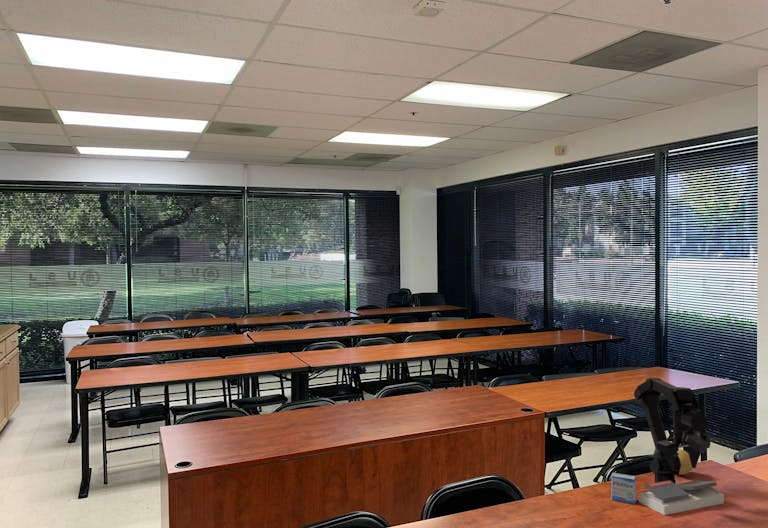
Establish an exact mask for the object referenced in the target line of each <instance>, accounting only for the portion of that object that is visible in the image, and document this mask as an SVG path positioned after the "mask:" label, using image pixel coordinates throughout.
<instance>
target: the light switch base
mask: <svg viewBox="0 0 768 528" xmlns="http://www.w3.org/2000/svg"><path fill="white" fill-rule="evenodd" d="M682 490H684V489H682ZM684 491H685V492H686V493H688V494H689V495H688V497H687V498H681V499H676V500H671V501H666V502H663V501H662V500H660V499H659V498H658V497H657V496H655V495H654V494H653V493H652V492H650V491H647V492H645V491H643V492H641V493H638V502H639V503H640V504H641V505H643V506H646V507H647V508H650V509H651V510H653V511H655V512H658V513H660V514H661V515H664V516H667V515H673V514H676V513H681V512H682V513H683V512H687V511H693V510H697V509H701V508H707V507H711V506H718V505H722V504H725V494H723V493H721V490H719V489H717V488H716V487H714V486H713V487H708V488H703V489H697V490H684Z"/></svg>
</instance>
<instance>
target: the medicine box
mask: <svg viewBox="0 0 768 528" xmlns="http://www.w3.org/2000/svg"><path fill="white" fill-rule="evenodd" d="M610 478H611V480H610V481H611V483H610V485H611V489H610V490H611V491H610V492H611V493H610V494H611V497H610V498H611V501H612V502H614V501H615V502H619V503H625V504H632V505H636V502H637V476H636V475H629V474H624V473H618V472H617V473H616V472H612V473H611V477H610Z"/></svg>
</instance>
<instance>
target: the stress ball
mask: <svg viewBox="0 0 768 528" xmlns="http://www.w3.org/2000/svg"><path fill="white" fill-rule="evenodd" d="M677 453H679V454H678V457H679V458H680V462H681V468H680V472H679V475H678V476H680V475H682V476H684V475H687V474H689V473H690V472H691V471H692V470H693V468H692V465H691V462H690V457H689V452H688V451H686V450H684V449H683V448H682V449H681V448H679V450H678V452H677Z"/></svg>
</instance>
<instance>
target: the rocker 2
mask: <svg viewBox="0 0 768 528" xmlns="http://www.w3.org/2000/svg"><path fill="white" fill-rule="evenodd" d="M675 484H676V485H677V486H678V487H680V488H681V489H684V490H697V489H703V488H708V487H713V488H714V487H717V486H718V485H717V482H716V481H709V480H691V481H686V482H679V483H675Z"/></svg>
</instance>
